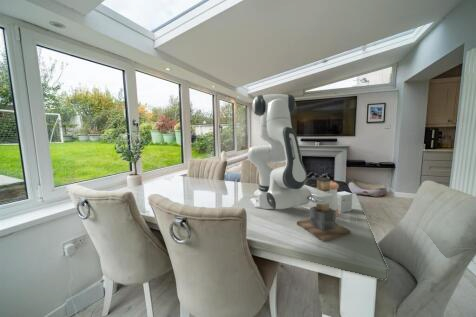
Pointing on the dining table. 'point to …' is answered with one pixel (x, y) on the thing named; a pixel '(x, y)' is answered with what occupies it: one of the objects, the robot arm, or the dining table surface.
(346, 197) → the small box
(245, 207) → the dining table surface
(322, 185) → the oak post
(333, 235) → the sleeve stand
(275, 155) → the robot arm
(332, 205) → the pepper shaker
